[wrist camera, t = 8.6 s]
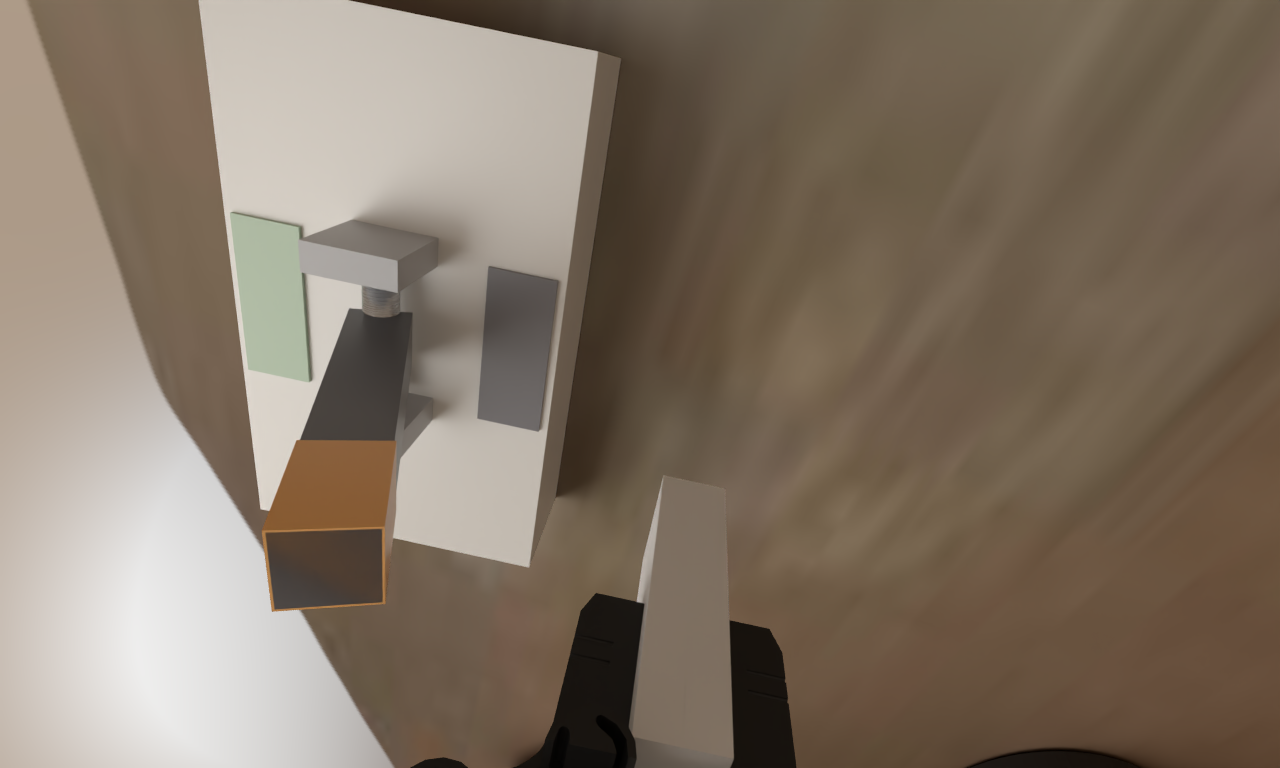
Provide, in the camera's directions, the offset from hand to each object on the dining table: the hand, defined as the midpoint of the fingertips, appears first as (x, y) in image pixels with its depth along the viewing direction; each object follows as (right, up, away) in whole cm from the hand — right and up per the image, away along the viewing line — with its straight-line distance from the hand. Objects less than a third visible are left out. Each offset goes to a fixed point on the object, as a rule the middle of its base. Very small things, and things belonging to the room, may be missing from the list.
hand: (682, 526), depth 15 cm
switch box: (-9, +8, +12) cm, 17 cm away
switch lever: (-10, +5, +6) cm, 13 cm away
